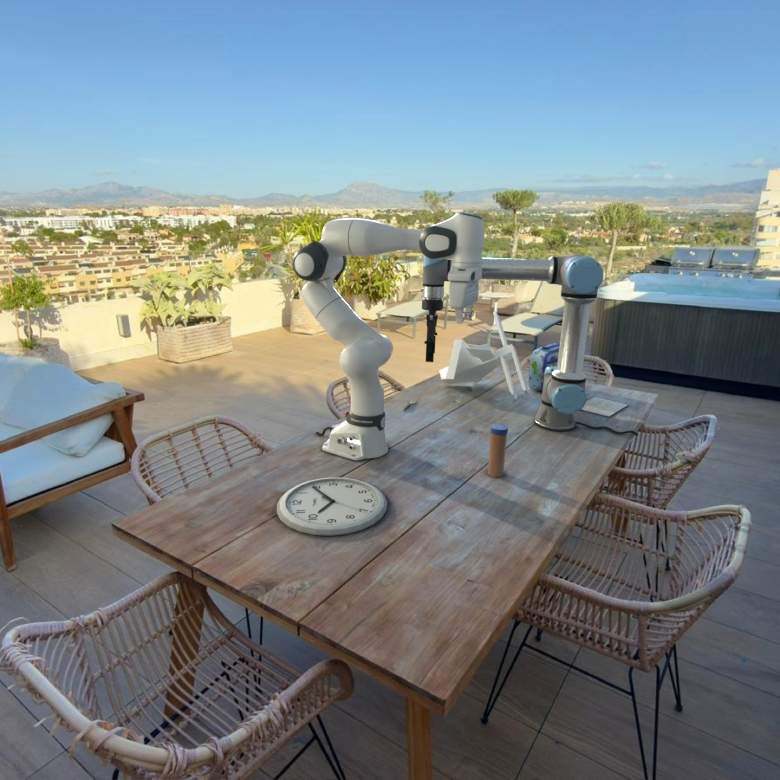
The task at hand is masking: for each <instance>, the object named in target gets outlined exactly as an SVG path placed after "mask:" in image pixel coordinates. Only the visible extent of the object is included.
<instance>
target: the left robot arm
mask: <svg viewBox="0 0 780 780" xmlns="http://www.w3.org/2000/svg"><path fill="white" fill-rule="evenodd" d="M484 247H485V223H484V219H483V218H482V217H481V216H480V215H477V214H474V213H470V212H465V211H464V212H463V211H460V212H457V213H455V214H454V215H453V216H452V217H450V218H448V219H446V220H444V221H442V222H439V223H436V224H433V225H430V226H427V227H426V228H424V229H420V228H419V229H416V228H415V229H414V228H402V227H398V226H393V225H390V224H387V223H383V222H379V221H376V220H372V219H367V218H355V217H353V218H351V217H350V218H340V219H334V220H333V219H332V220H330V221H328V222H326V223H325V224H324V226H323V227H322V230H321V239H320V240H319V241H318V240H312V241H311V242H309V243H307V244H306V245H304V246H302V247H301V248H299V249H298V250H297V251H296V252H295V253H294V254H293V257H292V261H291V265H292V269H293V272H294V274H295V275H296V276H297V277H298V278H299V279H301V280H302V281H305V283H304V284H303V286H302V287H301V290H300V296H301V299H302V301H303V302H304V304H305V306H306V307H307V309H308V311H309V312H310V314H311V315H312V316H313V317H314V319H315V320H316V321H317V322H318V324H319V325H320V326H321V327H322V328H323V330H324V331H325V332H326V333H327V335H328V336H329V337H330V338H331V339H333V340H335V341H338V342H339V343H341V344H343V345H344V346H345V348H343V350H342V351H341V352H340V355H339V361H338V362H339V366H340V368H341V370H342V371H343V373H344V374H345V375H346V377H347V381H348V384H349V389H350V390H349V393H350V407H349V409H348V410H346V411H345V413H343V418H345V419H344V420H343V421H341V422H340V423H335V424H333V425H331V426H325V428H323V429H322V432H319V431H315V434H316V435H318V436H320V437H322V436H324V435H325V433H326V432H327V430H329V437H328V439H327V440H325V442H324V443H323V444H322V448H321V449H322V451H323V452H326V453H328V454H333V455H336V456H339V457H342V458H345V459H349V460H352V461H356V462H357V461H362V460H367V459H375V458H379V457H383V456H384V455H386V454H388V451H389V447H388V443H387V440H386V439H387V438H386V432H385V427H386V411H385V388H384V386H383V385H382V383H381V382H380V381H381V380H380V376H379V368H381V367H382V366H384V365H385V364H387V363H388V361H389V360H390V359H391V357H392V355H393V353H394V344H393V342H392V340H391V338H389V337H388V336H386V335H384V334H382V333H380V332H379V331H377V330H375V328H373V327H372V326H371V325H370V324H368V323H367V322H366V321H364V320H363V319H362V318H361V317H360V316H359V315H358V314H357V313H356V312H355V310H353V308H352V307H351V306H350V304H348V303H347V302H346V300H345V299H344V298H343V297H342V296H341V294H340V293H339V292H338V291H337V289H336V288H335V286H334V284H336V283H338V282H339V280H340V278H341V276H342V274H343V273H344V271H345V269H346V267H347V263H348V259H347V257H348V256H350V257H373V256H379V255H382V254H384V255H385V254H388V253H391V252H398V251H418V252H419V251H420V252H421V254H422V255H423V256H424V255H425V256H426V257H428V258H430V259H434V260H439V259H450V260H452V262H451V270H450V272H449V273H448V281H449V285H448V304H449V307H450V309H452V310H454V313H455V323H456V324H457V325H462V324H463V323H464V319H466V320H469V319H471V318H472V312H473V309H474V304H475V303H476V302H478V300H479V296H480V295H479V291H480V283H479V282H480V280H483V279H482V268H483V259H482V258H483V251H484Z"/></svg>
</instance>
